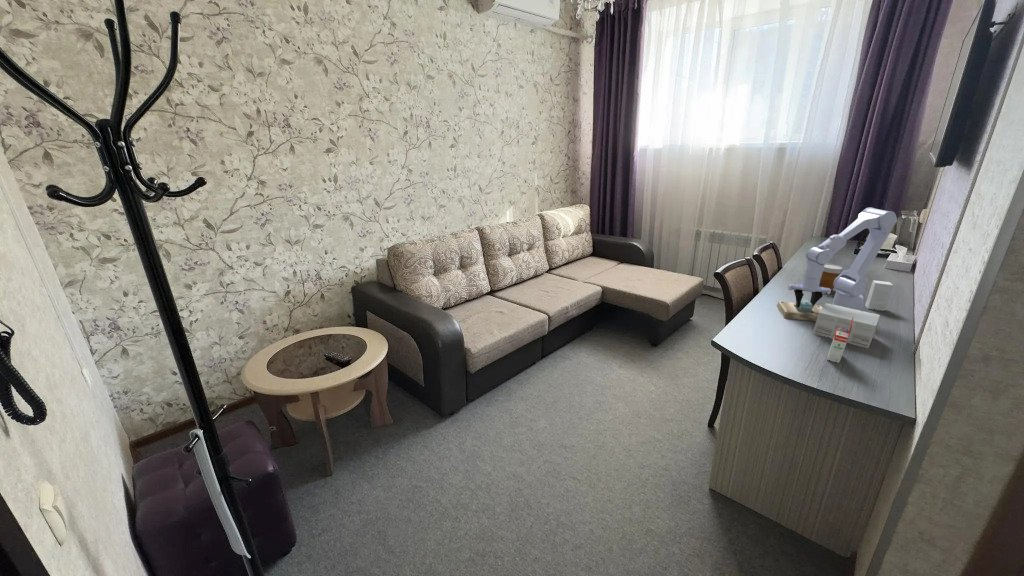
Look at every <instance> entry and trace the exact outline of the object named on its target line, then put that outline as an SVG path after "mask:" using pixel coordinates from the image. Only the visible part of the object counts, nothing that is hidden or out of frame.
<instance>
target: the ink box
mask: <svg viewBox="0 0 1024 576" xmlns="http://www.w3.org/2000/svg"><path fill="white" fill-rule="evenodd" d="M853 318H854V317H853ZM853 318H852V321H851V324H850V328H849V329H846V328H842V327H837V329H836V332H835V335H834V338H833V339H832V341H831V344H830V347H829V349H828V353H827V358H826V360H827V361H829V360H830V362H832V363H833V362H834V363H836V362H837V363H836V364H839V363H840V362H841V360H842V357H843V354H844V352H845V348H846V345H847V344H848V343H847V340H848V337H849V334H850V331H851V328H852V324H853Z"/></svg>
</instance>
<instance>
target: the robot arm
mask: <svg viewBox="0 0 1024 576" xmlns="http://www.w3.org/2000/svg"><path fill="white" fill-rule="evenodd" d="M897 222H898V218H897V215H896V213H895V212H894V211H892V210H891V211H890V210H883V209H878V208H874V207H871V206H870V207H866V208H865V209H863V210H862V211H861V212H860V213H858V215H857V218H856V219H855V220H854V221H852V223H850V225H848V226H847V227H846V228H845V229H844V230H842V232H840V233H839V234H832V235H830V236H829V237H828V238H827V239H826V240H824V241H823V242H822V243H820V244H819V245H817V246H815V247H814V246H813V247H810V248H809V250H808V251H807V252H805V258H806V268H805V269H804V274H803V278H802V283H800V284H799V283H798V284H796V283H794V284H791V283H789V284H788V285H787V286H788V287H787V289H788V291H793V292H794V295H795V303H796V307H797V308H799V307H800V303H801V300H802V299H803V297H804V295H805V294H804V293H803V292H808V293H809V292H810V293H811V297H810V300H809V301H810V303H811V304H812V305H813V306H814V305H816V303H817V302H818V301H819V300H820V299H822V298H823V296H824V294H826V295H830V294H831V289H830V288H824V287H819V283H820V280H821V277H822V273H823V270H824V266H825V264H828V263H829V262H830V261H831V259H832V257H833V256H834V255H835V254H836V253H837V252H838V251H840V250H841V249H842V248H843V247H846V245H847V241H849V240H850V239H852V237H854V236H856V235H857V234H859V233H860V232H862V231H863V230H865V229H868V230H869V231H868V232H869V235H868V237H867V239H866V240H865V242H864V244H863V245H862V247H861V249H860V250H859V252H858V254H857V255H856V257H855V259H854V261H853V262H852V263H851V265H850V267H849V269H846V270H843V271H842V272H841V274H840V275H839V276H838V277H837V278H836V279H835V280H834V283H833V285H834V291H835V294H834V298H833V299H832V304H833V305H837V306H841V307H846V308H850V309H855V310H859V311H863V310H862V309H863V306H864V305H865V304H864V302H865V298H864V296H863V294H864V292H865V291H866V289H867V284H868V283H869V280H868V278H867V276H866V274H867V272H868V270H869V268H870V266H871V265H872V264H873V262H874V260H875V259H876V257H877V256H878V253H880V250H881V249H882V248H883V246H884V244H885V243H886V240H887V239H888V237H889V236H890V234H891V231H892V230H893V228H894V226H895V225H896V223H897ZM812 308H813V307H812Z"/></svg>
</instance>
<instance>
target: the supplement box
mask: <svg viewBox="0 0 1024 576" xmlns="http://www.w3.org/2000/svg"><path fill="white" fill-rule="evenodd" d="M853 317H854V318H853ZM880 317H881V316H880V314H876V313H873V312H868V311H864V310H861V311H859V310H855V309H850V308H846V307H841V306H837V305H833V304H831V303H828V302H825V303H824V305H823V306H822V309H821V310H820V312H819V313H818V317H817V320H816V321H815V323H814V327H813V331H812V334H813V333H814V335H816V334H817V336H820V335H821V337H824V336H825V337H824V338H827V337H829V339H831V338H834V335H835V332H836V329H837V327H842V328H846V329H849V328H850V324H851V321H852V318H853V324H852V328H851V331H850V334H849V337H848V340H847V343H846V344H849V343H850V345H854V346H857V347H861V348H865V349H869V348H870V345H871V343H872V340H873V337H874V335H875V332H876V329H877V326H878V324H879V320H880Z"/></svg>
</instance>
